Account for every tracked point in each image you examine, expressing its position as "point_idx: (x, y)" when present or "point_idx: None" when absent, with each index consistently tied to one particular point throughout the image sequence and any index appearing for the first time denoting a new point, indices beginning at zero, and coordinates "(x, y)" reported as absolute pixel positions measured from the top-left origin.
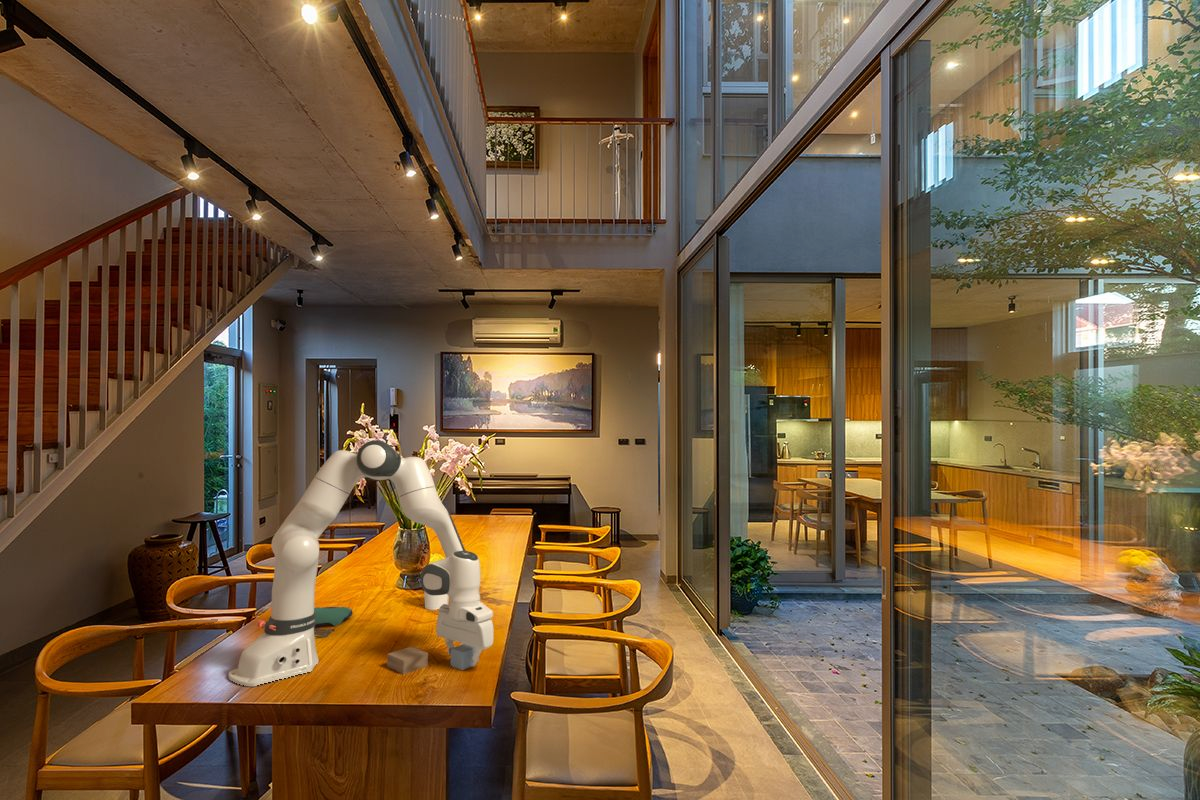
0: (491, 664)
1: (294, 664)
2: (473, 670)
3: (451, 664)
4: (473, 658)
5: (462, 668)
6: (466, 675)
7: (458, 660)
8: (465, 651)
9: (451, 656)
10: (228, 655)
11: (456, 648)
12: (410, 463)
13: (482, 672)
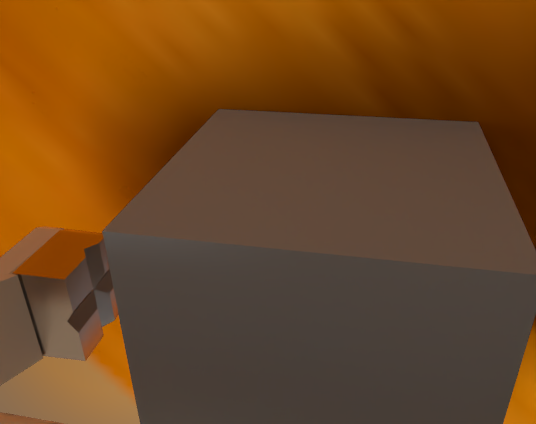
0: (122, 368)
1: None
2: (116, 176)
3: (461, 132)
4: (25, 251)
5: (217, 117)
6: (39, 6)
7: (283, 157)
8: (115, 294)
9: (483, 185)
10: None
11: (419, 340)
12: None
13: (5, 185)
